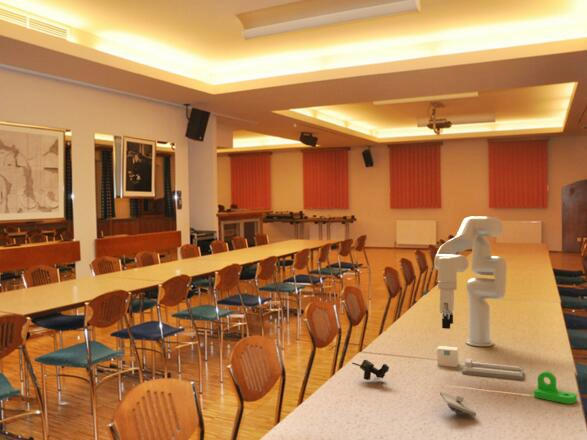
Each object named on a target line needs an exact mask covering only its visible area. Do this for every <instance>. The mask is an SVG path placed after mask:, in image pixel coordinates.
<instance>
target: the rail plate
mask: <svg viewBox="0 0 587 440" xmlns="http://www.w3.org/2000/svg"><path fill="white" fill-rule="evenodd" d="M461 372H462V374H463V375H471V376H479V377H480V376H481V377H487V378H488V377H490V378H497V379H505V380H506V379H507V380H518V381H523V380H524V378H523V376H524V374H523V372H524V371H523V369H522V368H521V367H520V366H517V365H516V366H515V365H504V364H495V363H484V362H477V361H476V362H475V361H473V358H471V357H470V358H469V357H467V358H466V360H465V364H464V365H463V367H462V370H461Z"/></svg>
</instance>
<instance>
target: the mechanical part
mask: <svg viewBox="0 0 587 440" xmlns="http://www.w3.org/2000/svg"><path fill="white" fill-rule="evenodd" d="M544 378H547V379H549V381H550V382H549V383H547V382H545V380H544ZM533 395H534V398H537V399H538V398H539V399H543V400H548V401H551V402H552V401H553V402H558V403H562V404H567V405H568V404H569V405H570V404H574V403H576V402H577V400H578V394H577V393H575V392H574V393H573V392H568V391H564V390H559V389H558V388H557V377H556V376H555V375H554V374H553V373H552V372H550V371H547V370H546V371H543V372H541V373H540V374H538V376H537V388H536V389H535V390H534V394H533Z"/></svg>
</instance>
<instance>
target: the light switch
mask: <svg viewBox="0 0 587 440" xmlns="http://www.w3.org/2000/svg"><path fill="white" fill-rule="evenodd" d="M439 396H440V397H441V398H442V399H443V401H444V402H445V403H446V405H447V407H448V408H449V409H450V410H451V411H452V412H454V413H455V414H457V415H462V414H463V413H466V414H469V415H472V416H474V417H476V416H477V412H476V411H475V410H474V408H472V406H471V404H469V403H468V401H466V400H464V399H465V397H464V396H462V395H461V394H456V396H453V395H450V394H447V393H445V392H442V391H440V392H439Z"/></svg>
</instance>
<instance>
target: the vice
mask: <svg viewBox="0 0 587 440" xmlns="http://www.w3.org/2000/svg"><path fill="white" fill-rule="evenodd" d="M351 364H352V365H355V366H358V367H359V368H360V369H361V370H362V371H363V380H366V381H370V380H371V375H372V374H374V375H375V376H376V378H381V379H382V380H383V379H384V378H385V376H386V373H388V372H389V369H390V366H388V364H386V363H383V364H382V366H381V367H380V369H378V368H377V367H374V366H375V364H374V363H372V362H371V361H369V359H363V361H362V363H361V364H358V363H355V362H352V363H351Z"/></svg>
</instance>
